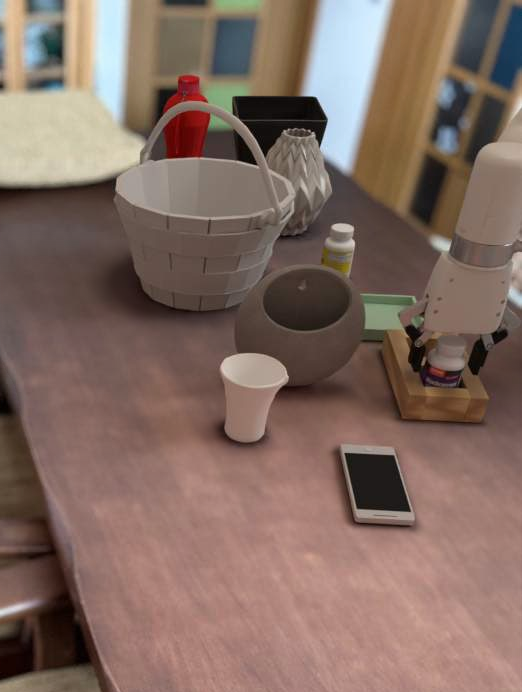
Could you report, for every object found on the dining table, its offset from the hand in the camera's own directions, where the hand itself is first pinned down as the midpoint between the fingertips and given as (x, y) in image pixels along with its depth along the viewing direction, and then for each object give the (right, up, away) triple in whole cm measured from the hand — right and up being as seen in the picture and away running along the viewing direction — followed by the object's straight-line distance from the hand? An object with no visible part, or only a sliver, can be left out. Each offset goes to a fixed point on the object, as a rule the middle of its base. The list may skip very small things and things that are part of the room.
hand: (443, 368), depth 118 cm
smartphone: (-14, -18, -12) cm, 25 cm away
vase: (-12, +40, +52) cm, 67 cm away
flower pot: (-12, +56, +71) cm, 91 cm away
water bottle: (-33, +48, +61) cm, 85 cm away
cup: (-29, -10, -3) cm, 30 cm away
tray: (-4, +12, +22) cm, 26 cm away
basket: (-32, +21, +32) cm, 50 cm away
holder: (0, -1, +7) cm, 7 cm away
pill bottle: (0, -4, +4) cm, 5 cm away
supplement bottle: (-7, +23, +34) cm, 42 cm away
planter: (-21, -1, +6) cm, 22 cm away
